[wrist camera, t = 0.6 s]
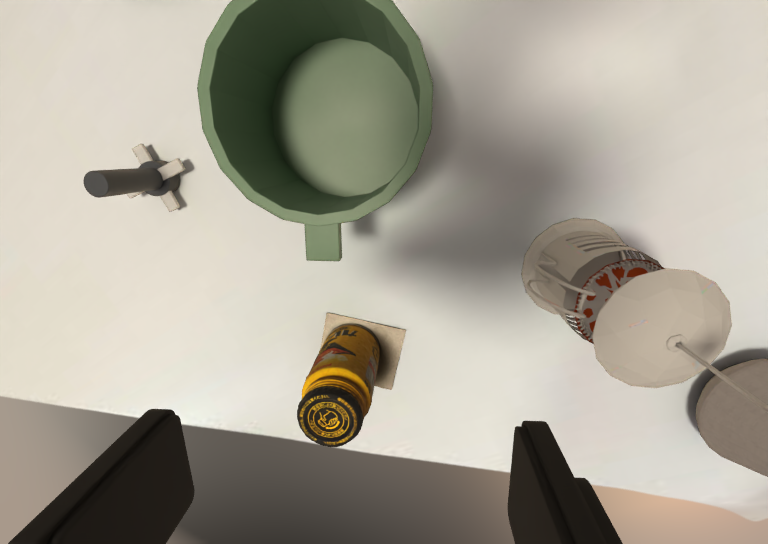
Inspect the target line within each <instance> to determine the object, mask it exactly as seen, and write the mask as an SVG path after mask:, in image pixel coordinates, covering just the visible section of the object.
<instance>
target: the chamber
mask: <svg viewBox="0 0 768 544" xmlns="http://www.w3.org/2000/svg"><path fill="white" fill-rule="evenodd" d="M197 89H198V97H199V105H200V113H201V121H202V129H203V132H204V134H205V136H206V138H207V141H208V143H209V145H210V147H211V149H212V152H213V154H214V156H215V158H216V160H217V163H218V165H219V167H220V169H221V170H222V171H223V172H224V173H225V174H226V176H227V177H228V178H229V179H230V180H231V181H232V182H233V183H234V184H235V186H236V187H237V188H238V189H239V190H240V191H241V192H242V193H243V194H244V196H245V197H246V198H247V199H249V201H251V202H253V203H255V204H256V205H258V206H260V207H262V208H263V209H265V210H267V211H268V212H270V213H272V214H274V215H275V216H277V217H279V218H281V219H283V220H287V221H292V222H298V223H303V224H305V241H306V258H307V260H310V261H340V260H341V258H342V241H341V223H345V222H351V221H356V220H358V219H360V218H362V217H364V216H365V215H367V214H369V213H371V212H372V211H374V210H376V209H378V208H379V207H381V206H383V205H385V204H386V203H388V202H389V201H391V199H392V198H393V197H394V196H395V195H396V194H397V192H398V191H399V190H400V189H401V188H402V186H403V185H404V184H405V183H406V182H407V181H408V179H409V178H410V177H411V176H412V175H413V173H414V172H415V170H416V169H417V166H418V164H419V161H420V159H421V156H422V153H423V151H424V148H425V145H426V143H427V140H428V138H429V135H430V132H431V127H432V100H433V82H432V79H431V75H430V72H429V69H428V65H427V62H426V58H425V55H424V52H423V48H422V45H421V42H420V39H419V37H418V36H417V34H416V33H415V31H414V30H413V29H412V27H411V26H410V25H409V23H408V22H407V20H406V19H405V18H404V16H403V15H402V14H401V12H400V11H399V9H398V8H397V7H396V5H395V4H394V2H393V1H392V0H233V1H231V2H230V3H229V4H228V5H227V7H226V8H225V10H224V12H223V13H222V15H221V17H220V18H219V20H218V22H217V24H216V25H215V27H214V29H213V30H212V32H211V34H210V35H209V37H208V39H207V41H206V43H205V48H204V54H203V59H202V64H201V69H200V75H199V80H198V87H197Z"/></svg>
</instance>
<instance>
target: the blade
mask: <svg viewBox="0 0 768 544" xmlns="http://www.w3.org/2000/svg"><path fill="white" fill-rule="evenodd" d="M132 150H133V152H134V154H135V155H136V157H137V159H138V160H139V162H140V164H141V166H140V167H139V168H137V169H118V170H99V171H90V172H88V173H87V174H86V175H85V177H84V186H85V188H86V190H87V191H88V192H89V193H90V194H91V195H93V196H95V197H107V196H114V195H121V194H127V195H128V197H129V198H133V197H135V196H137V195H139V194H141V193H143V192H144V191H145V192H146V193H148V194H150V195H153V196H160V197H161V199H162V200H163V202H164V204H165V205H166V207H167V208H168V210H169V212H171V211H174V210H176V209H177V208H179V207H180V205H179V203H178V201H177V200H176V198H175V196H174V195H173V192H175V191H176V190H177V188H178V186H179V182H180V179H179V175H178V173H180V172H182V171H184V170H185V167H184V166H183V164H182V162H181V160H180V159H175V160H173V161H171V162H170V163H168V162H165V161H153V159H152V158H151V156H150V154H149V152H148V151H147V149H146V147H145V146H144V144H139V145H138V146H136V147H134V148H132Z"/></svg>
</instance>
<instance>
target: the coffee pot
mask: <svg viewBox="0 0 768 544" xmlns="http://www.w3.org/2000/svg"><path fill="white" fill-rule="evenodd" d="M720 372H721V373H723V374H724V375H726V376H727V377H728V378H730V379H731V380H733V381H734V382H735V383H737V384H738V385H740V386H741V387H742V388H744V389H745V390H747V391H748V392H749V393H751V394H752V395H754V396H755V397H756V398H758V399H759V400H761V401H762V402H763V403H765V404H766V405H768V359H757V360H750V361H747V362H743V363H740V364H737V365H733V366H731V367H728V368H726V369H724V370H722V371H720ZM696 421H697V424H698V428H699V431H700V435H701V436H702V438H703V439H704V441H705V442H706V444H707V445H708V446H709V448H711V449H712V450H713V451H715V452H716V453H717V454H719V455H720V456H722V457H724V458H726V459H728V460H730V461H733V462H735V463H737V464H740V465H742V466H744V467H746V468H749V469H751V470H753V471H756V472H758V473H760V474H762V475H765V476H767V477H768V413H767V412H766V411H765V410H763V409H762V408H761V407H759V406H758V405H756V404H755V403H754V402H752V401H751V400H750V399H748V398H747V397H746V396H744V395H743V394H741V393H740V392H739V391H737V390H736V389H735V388H733V387H732V386H731V385H729V384H728V383H726V382H725V381H724V380H722V379H721V378H720V377H718V376H717V375H714V376H713V377H712V378H711V379H710V380H709V381H708V382H707V384H706V385H705V386H704V388H703V390H702V393H701V395H700V398H699V400H698V403H697V406H696Z"/></svg>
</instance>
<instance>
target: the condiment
mask: <svg viewBox="0 0 768 544" xmlns="http://www.w3.org/2000/svg"><path fill="white" fill-rule="evenodd" d="M405 332H406V330H402V329H397V328H394V327H388V326H384V325H380V324H375V323H371V322H367V321H363V320H358V319H354V318H349V317H345V316H340V315H336V314H331V313H327V314H326V320H325V326H324V333H323V338H322V344H321V350H320V351H319V354H318V356H317V358H316V359H315V362H314V364H313V367H312V369H311V371H310V373H309V375H308V376H307V377H306V381H305V384H304V386H303V389H302V400H301V401H300V403H299V405H298V410H297V419H298V422H299V426H300V428H301V429H302V431H303V432H304V433H305V435H306V436H307V437H308V438H309V439H311V440H312V441H314V442H316V443H318V444H320V445H323V446H328V447H338V446H342V445H344V444H346V443H348V442H349V441H351V440H352V439H354V438H355V437H356V436H357V435H358V433H359V431H360V430H361V427H362V423H363V419H364V417H365V416H366V414H367V413H368V411H369V409H370V406H371V402H372V395H373V390H374V386H378V387H381V388H385V389H390V390H392V386H393V381H394V377H395V373H396V369H397V365H398V361H399V356H400V352H401V348H402V344H403V340H404V336H405Z"/></svg>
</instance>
